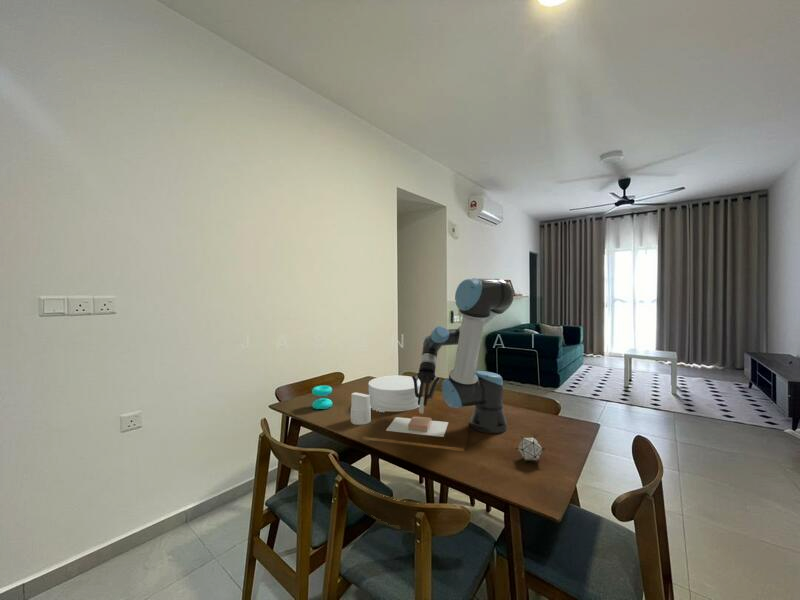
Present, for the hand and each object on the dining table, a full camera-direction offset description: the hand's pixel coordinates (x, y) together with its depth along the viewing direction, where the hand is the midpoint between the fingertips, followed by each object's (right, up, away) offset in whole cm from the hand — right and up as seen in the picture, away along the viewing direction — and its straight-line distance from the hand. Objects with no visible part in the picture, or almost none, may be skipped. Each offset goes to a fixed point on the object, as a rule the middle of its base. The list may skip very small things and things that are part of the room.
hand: (420, 412), depth 142 cm
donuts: (-49, -7, +27) cm, 56 cm away
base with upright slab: (-27, -7, +8) cm, 29 cm away
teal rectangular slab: (+1, -4, +3) cm, 5 cm away
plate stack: (-11, -6, +31) cm, 33 cm away
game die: (+36, -7, -28) cm, 46 cm away
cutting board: (-1, -7, -1) cm, 7 cm away
